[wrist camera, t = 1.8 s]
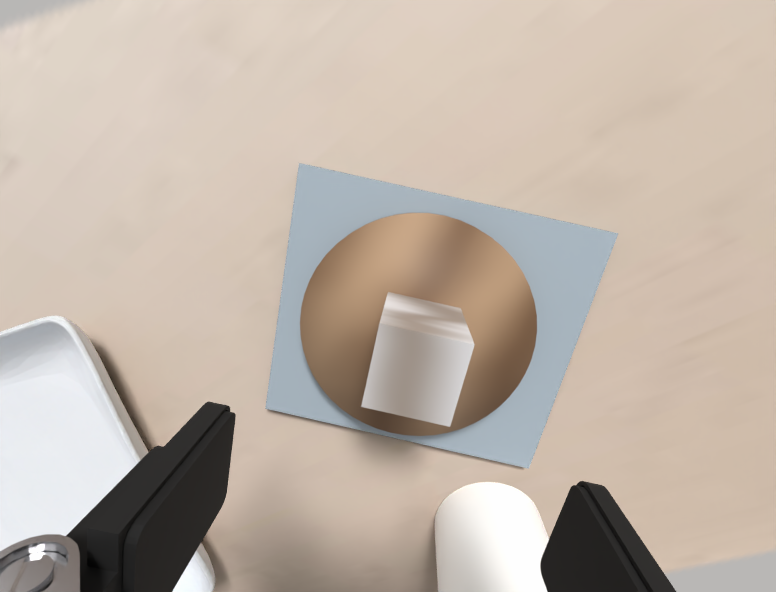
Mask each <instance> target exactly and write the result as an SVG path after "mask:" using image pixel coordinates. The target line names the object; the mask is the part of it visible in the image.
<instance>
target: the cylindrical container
mask: <svg viewBox="0 0 776 592" xmlns="http://www.w3.org/2000/svg"><path fill="white" fill-rule="evenodd" d="M434 526H435V544H436V561H437V579H438V592H547V589H546V586H545V583H544V581H543V578H542V575H541V569H540V563H541V558H542V555H543V553H544V551H545V548H546V546H547V543H548V541H549V537H548V535H547V532H546V530H545V527H544V524H543V522H542V519H541V517H540V514H539V511H538V509H537V507H536V506H535V504H534V503H533V501H532V500H531V499H530V498H529V497H528V496H527V495H525V494H524V493H523V492H521V491H520V490H518V489H516V488H514V487H511V486H509V485H505V484H501V483H494V482H480V483H474V484H470V485H466V486H464V487H462V488H459V489H457V490H455V491H454V492H453V493H451V494H450V495H448V496H447V497H446V498H445V499H444V500H443V502H442V503H441V505H440V506H439V508H438V510H437V513H436V516H435V524H434Z"/></svg>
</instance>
